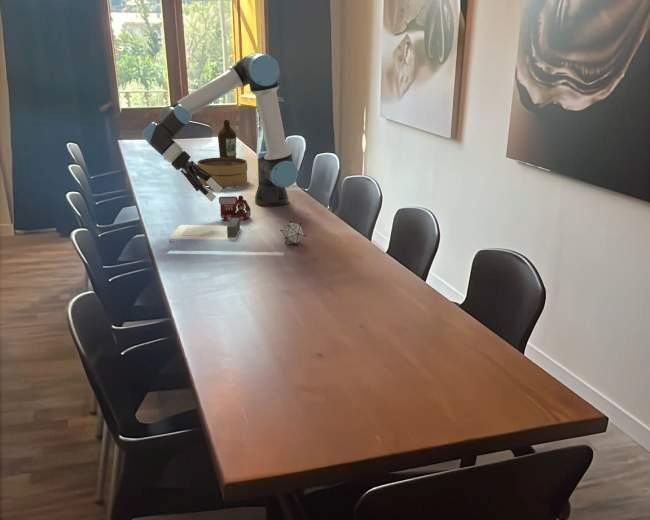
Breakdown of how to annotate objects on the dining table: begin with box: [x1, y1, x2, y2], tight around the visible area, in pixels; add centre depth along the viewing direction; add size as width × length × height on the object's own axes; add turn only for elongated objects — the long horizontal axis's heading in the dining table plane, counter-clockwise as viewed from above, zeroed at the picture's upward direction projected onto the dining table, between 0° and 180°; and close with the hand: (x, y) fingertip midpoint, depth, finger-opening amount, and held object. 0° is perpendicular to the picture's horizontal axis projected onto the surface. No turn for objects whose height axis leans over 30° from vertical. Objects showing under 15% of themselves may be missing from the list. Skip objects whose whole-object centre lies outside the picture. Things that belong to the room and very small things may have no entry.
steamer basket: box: [197, 157, 248, 188], centre depth 315 cm, size 25×25×11 cm
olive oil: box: [217, 118, 237, 158], centre depth 364 cm, size 11×11×25 cm
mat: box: [168, 224, 242, 243], centre depth 234 cm, size 24×18×1 cm
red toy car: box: [218, 195, 252, 222], centre depth 250 cm, size 7×12×10 cm, turn 101°
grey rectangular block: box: [227, 218, 241, 238], centre depth 233 cm, size 3×12×4 cm, turn 179°
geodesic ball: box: [279, 220, 307, 247], centre depth 224 cm, size 9×8×10 cm
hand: (217, 195), depth 248 cm, fingers open, 13 cm apart
